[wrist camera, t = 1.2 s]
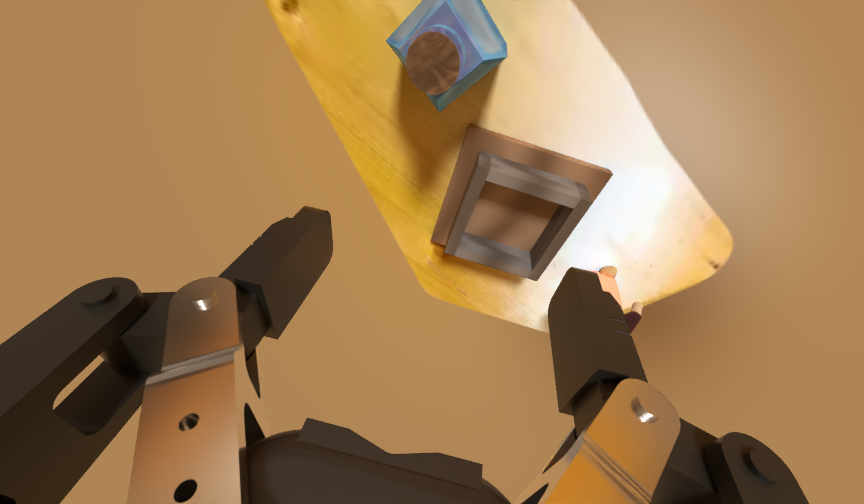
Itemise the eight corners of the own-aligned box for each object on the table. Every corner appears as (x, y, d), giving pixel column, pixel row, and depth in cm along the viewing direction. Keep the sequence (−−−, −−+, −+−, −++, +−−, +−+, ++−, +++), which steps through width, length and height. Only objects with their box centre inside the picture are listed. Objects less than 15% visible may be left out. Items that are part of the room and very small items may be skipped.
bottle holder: (432, 236, 42) (425, 259, 38) (469, 124, 32) (465, 141, 28) (540, 270, 42) (543, 295, 39) (610, 170, 32) (622, 192, 29)
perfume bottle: (449, 92, 30) (426, 139, 21) (405, 30, 28) (358, 54, 19) (506, 43, 27) (508, 74, 18) (463, -32, 25) (440, -38, 15)
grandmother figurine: (619, 255, 39) (657, 345, 29) (630, 275, 40) (669, 366, 31) (557, 277, 43) (573, 363, 33) (569, 295, 44) (588, 381, 35)
